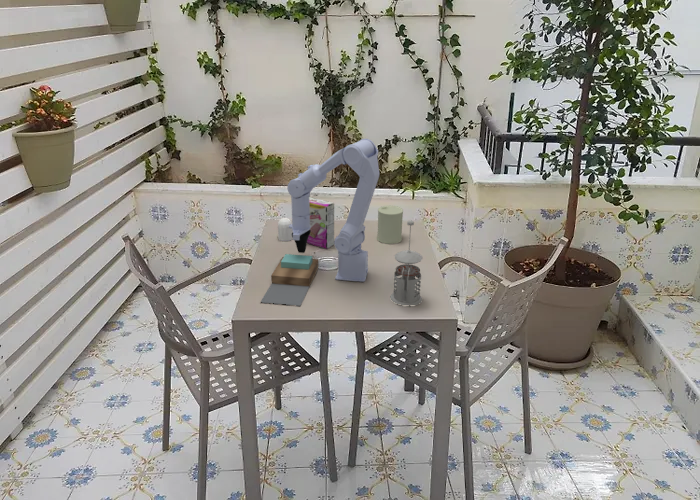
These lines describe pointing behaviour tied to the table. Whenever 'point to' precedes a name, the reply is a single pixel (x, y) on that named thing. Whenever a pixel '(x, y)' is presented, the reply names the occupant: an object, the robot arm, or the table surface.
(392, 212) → the can
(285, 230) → the white domed cylinder
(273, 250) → the table surface
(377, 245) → the table surface
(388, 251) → the table surface
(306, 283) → the deck
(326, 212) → the candy bar box
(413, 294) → the french press
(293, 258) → the teal rectangular block
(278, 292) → the mat
